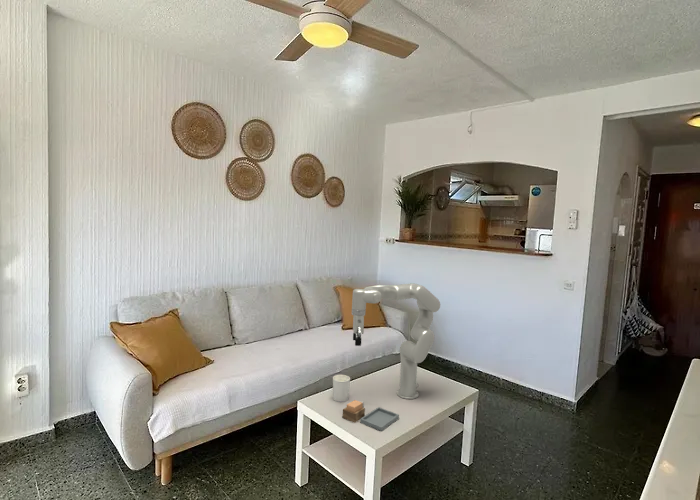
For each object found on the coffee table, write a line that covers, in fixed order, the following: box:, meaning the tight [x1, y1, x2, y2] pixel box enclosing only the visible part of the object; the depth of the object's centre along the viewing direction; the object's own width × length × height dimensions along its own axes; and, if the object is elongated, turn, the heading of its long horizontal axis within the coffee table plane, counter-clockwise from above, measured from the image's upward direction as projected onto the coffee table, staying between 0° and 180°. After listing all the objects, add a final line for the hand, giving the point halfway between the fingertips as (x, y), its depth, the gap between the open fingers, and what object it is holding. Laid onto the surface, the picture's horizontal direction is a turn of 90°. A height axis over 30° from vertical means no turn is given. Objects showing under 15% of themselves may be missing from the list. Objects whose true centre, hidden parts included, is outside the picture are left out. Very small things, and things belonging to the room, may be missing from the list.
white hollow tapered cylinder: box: [332, 374, 351, 403], centre depth 220 cm, size 10×10×12 cm
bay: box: [342, 406, 366, 424], centre depth 200 cm, size 8×8×4 cm
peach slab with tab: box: [346, 399, 365, 413], centre depth 202 cm, size 11×5×7 cm, turn 143°
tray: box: [359, 406, 400, 432], centre depth 197 cm, size 17×13×2 cm
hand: (356, 342), depth 213 cm, fingers open, 9 cm apart
